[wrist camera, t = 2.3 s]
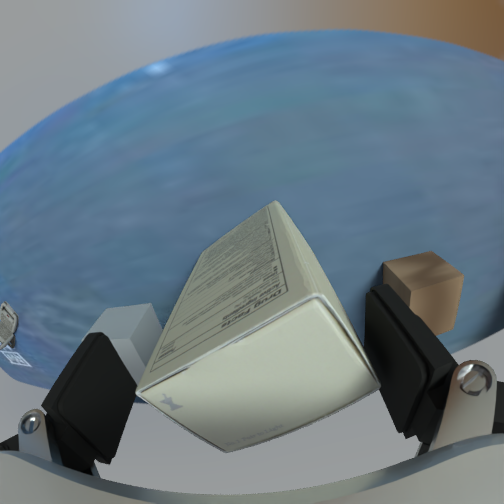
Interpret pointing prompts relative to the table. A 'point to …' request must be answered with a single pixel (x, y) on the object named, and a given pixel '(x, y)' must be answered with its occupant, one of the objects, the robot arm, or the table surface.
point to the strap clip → (7, 325)
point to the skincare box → (256, 341)
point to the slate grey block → (131, 334)
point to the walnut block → (427, 288)
